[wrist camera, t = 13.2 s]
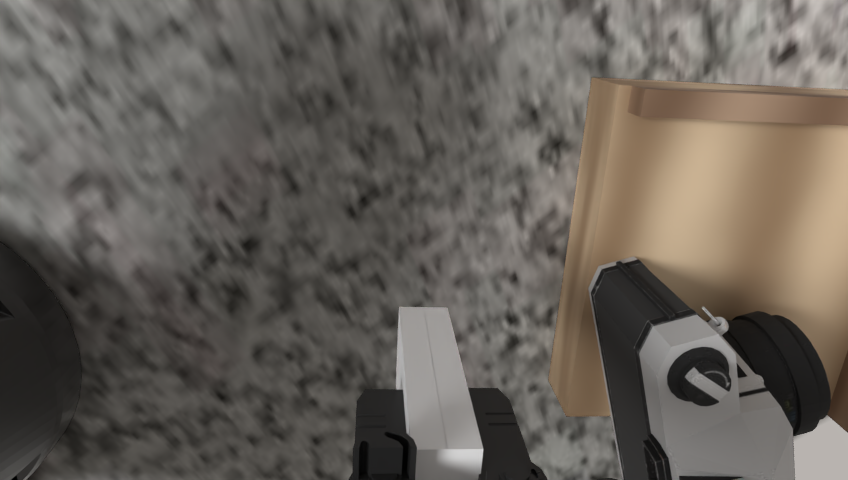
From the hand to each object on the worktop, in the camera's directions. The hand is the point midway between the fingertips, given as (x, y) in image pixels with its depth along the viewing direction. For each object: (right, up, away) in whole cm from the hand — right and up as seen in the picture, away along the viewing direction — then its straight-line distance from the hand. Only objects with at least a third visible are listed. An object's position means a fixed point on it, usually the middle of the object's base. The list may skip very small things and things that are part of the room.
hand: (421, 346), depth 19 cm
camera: (+12, -2, +9) cm, 15 cm away
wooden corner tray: (+14, +3, +10) cm, 17 cm away
